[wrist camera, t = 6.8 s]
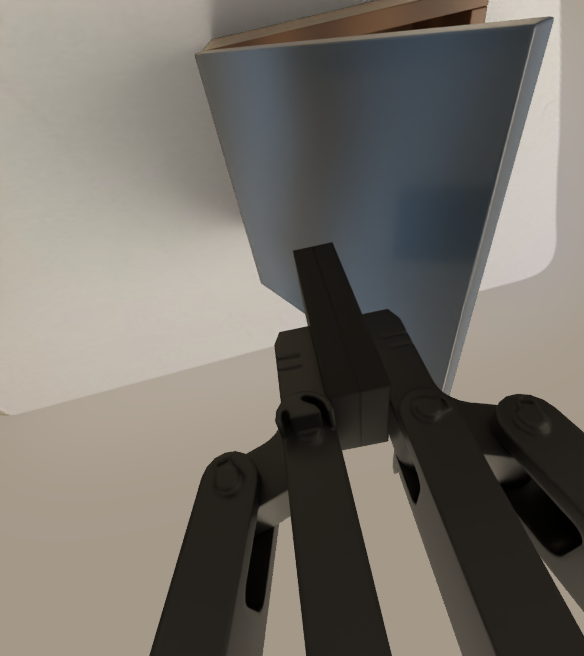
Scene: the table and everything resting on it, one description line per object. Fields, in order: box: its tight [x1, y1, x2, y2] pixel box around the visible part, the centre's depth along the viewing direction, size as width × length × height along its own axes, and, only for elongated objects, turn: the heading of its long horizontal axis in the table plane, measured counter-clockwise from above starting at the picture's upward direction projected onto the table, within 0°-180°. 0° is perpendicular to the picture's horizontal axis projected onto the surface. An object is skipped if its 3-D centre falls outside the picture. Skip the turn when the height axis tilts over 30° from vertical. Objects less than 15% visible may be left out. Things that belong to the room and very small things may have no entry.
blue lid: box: [195, 17, 554, 395], centre depth 16 cm, size 15×14×1 cm
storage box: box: [202, 0, 488, 52], centre depth 24 cm, size 14×14×8 cm
